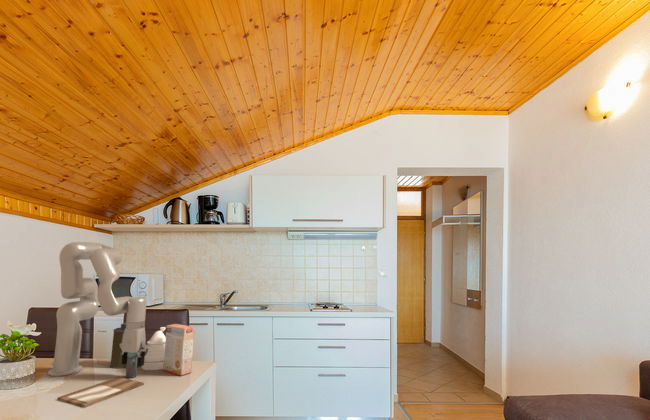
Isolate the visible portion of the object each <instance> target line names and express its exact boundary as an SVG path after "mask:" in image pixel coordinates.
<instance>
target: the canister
mask: <svg viewBox="0 0 650 420" xmlns="http://www.w3.org/2000/svg"><path fill="white" fill-rule="evenodd" d="M125 329H126V322H123V323H121V324H120V327H116V328H114V329H113V330H112V331H113V336H112V346H111V357H110V365H109V368H111V369H123V368H127V363H126V364H122V355H121V353H122V352H121V350H120V349H121V348H120V344H121V343H122V339H123V334H124V330H125Z"/></svg>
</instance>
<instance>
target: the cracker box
mask: <svg viewBox="0 0 650 420" xmlns="http://www.w3.org/2000/svg"><path fill="white" fill-rule="evenodd" d="M165 327H166V329H165V337H166V340H165V353H164V365H163V369H162V371H165V372H167V373H170V374H175V375H177V376H184V375H188V374H192V367H193V353H194V352H193V350H194V337H195V335H194V334H195V326H192V325H186V324H185V325H184V324H180V323H173V324H168V325H166V326H165Z"/></svg>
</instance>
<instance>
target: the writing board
mask: <svg viewBox="0 0 650 420" xmlns="http://www.w3.org/2000/svg"><path fill="white" fill-rule="evenodd" d="M144 384H145V383H144V382H143V381H139V380H138V381H137V380H134V379H126V377H125V378H124V377H120V376H117V377H115V378H111V379H107V380H105V381H103V382H99V383H96V384H94V385H90V386H87V387H85V388H81V389H79V390H76V391H73V392H70V393H66V394H63V395H61V396H57V399H56V400H58V401H60V402H64V403H67V404H71V405H75V406H78V407H80V408H81V407H82V408H85V409H86V408H87V407H90V406H92V405H95V404H97V403H101V402H102V401H106V400H109V399H110V398H114V397H115V396H119V395H122V394H123V393H126V392H129V391H131V390H133V389H136V388H138V387H141V386H144Z"/></svg>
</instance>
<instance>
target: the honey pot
mask: <svg viewBox="0 0 650 420" xmlns="http://www.w3.org/2000/svg"><path fill="white" fill-rule="evenodd" d="M166 327H167V326H161V327H159V329H160V330H156V331H155V332H154V333H153V335H151V337H150V339H149V340H148V341H147V342H146V345H147V346H148V347H149V349H148V351H147V354H146V356H145V357H144V365H143V366H141V369H142V370H145V371H158V370H163V365H164V353H165V340H166V334H164V331H166Z"/></svg>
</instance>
